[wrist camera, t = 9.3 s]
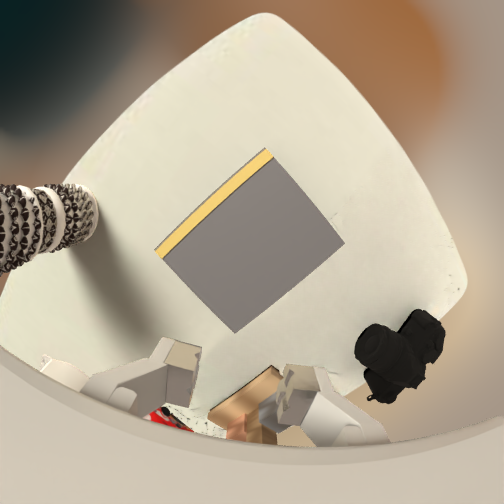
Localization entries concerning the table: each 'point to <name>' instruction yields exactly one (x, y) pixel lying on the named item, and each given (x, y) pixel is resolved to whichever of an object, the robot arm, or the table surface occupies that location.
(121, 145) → the table surface
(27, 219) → the decorative candle
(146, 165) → the table surface
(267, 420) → the gray cube
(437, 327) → the film camera
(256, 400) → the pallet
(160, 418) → the race car
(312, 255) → the plate
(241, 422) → the terracotta crate
